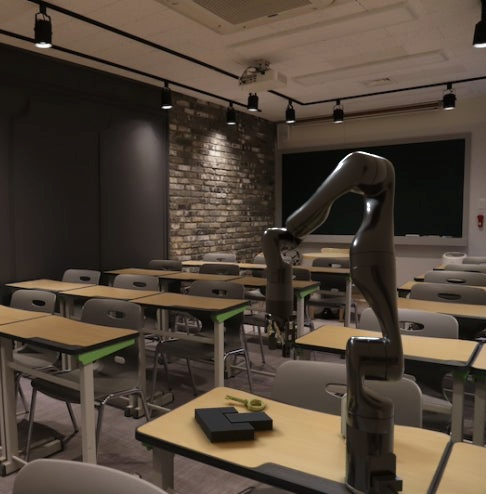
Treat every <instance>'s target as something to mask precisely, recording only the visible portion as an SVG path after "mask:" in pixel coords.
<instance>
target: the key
mask: <svg viewBox="0 0 486 494" xmlns="http://www.w3.org/2000/svg"><path fill="white" fill-rule="evenodd" d="M224 400H227V401H229V400H231V401H234V402H237V403H240V404H244V406H247V409H248V410H250V411H252V412H260V411H262V410H263V409H264V408H265V405H266V404H265V402H264V401H263V400H262V399H259V398H252V399H250V400H248V399H247V398H245V399H244V398H240V397H237V396H233V395H230V394H226V395H225V397H224ZM253 404H259V405H260V406H254V405H253Z"/></svg>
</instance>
